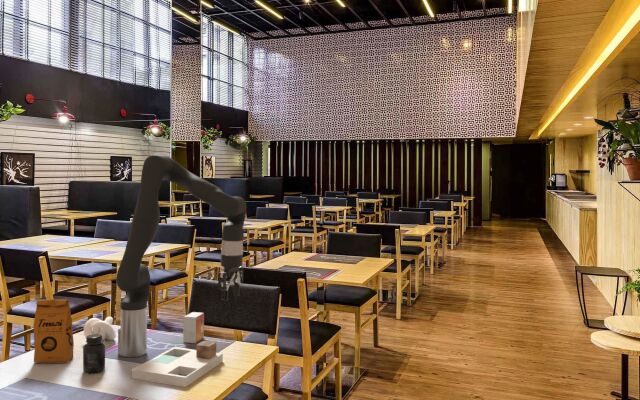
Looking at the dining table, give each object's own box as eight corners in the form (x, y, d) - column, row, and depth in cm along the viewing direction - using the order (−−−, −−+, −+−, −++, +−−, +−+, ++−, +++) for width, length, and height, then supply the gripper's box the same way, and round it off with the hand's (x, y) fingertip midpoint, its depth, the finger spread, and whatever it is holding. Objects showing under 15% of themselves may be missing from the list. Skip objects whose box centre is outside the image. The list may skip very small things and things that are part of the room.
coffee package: (66, 365, 175) (66, 302, 174) (29, 365, 174) (29, 302, 173) (78, 355, 184) (78, 296, 184) (43, 355, 184) (43, 296, 183)
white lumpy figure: (124, 339, 205) (124, 317, 205) (100, 347, 194) (100, 324, 194) (104, 335, 210) (104, 313, 209) (79, 343, 199) (79, 320, 199)
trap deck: (131, 378, 164) (132, 369, 164) (174, 355, 187) (174, 347, 187) (185, 387, 158) (185, 377, 158) (222, 361, 181) (222, 353, 181)
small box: (195, 343, 201) (196, 317, 200) (182, 342, 202) (182, 316, 202) (204, 337, 209) (204, 312, 208) (191, 336, 210) (191, 311, 209)
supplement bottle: (109, 369, 172) (109, 334, 172) (94, 376, 166) (94, 340, 165) (93, 366, 175) (93, 331, 174) (78, 373, 168) (78, 337, 168)
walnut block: (196, 357, 176) (196, 344, 176) (203, 353, 181) (203, 340, 181) (209, 359, 175) (209, 346, 175) (216, 354, 180) (216, 342, 180)
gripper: (232, 249, 186) (230, 293, 186) (212, 254, 172) (210, 301, 173) (250, 251, 183) (249, 295, 184) (231, 256, 170) (230, 304, 170)
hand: (230, 298), depth 178 cm, fingers open, 8 cm apart
